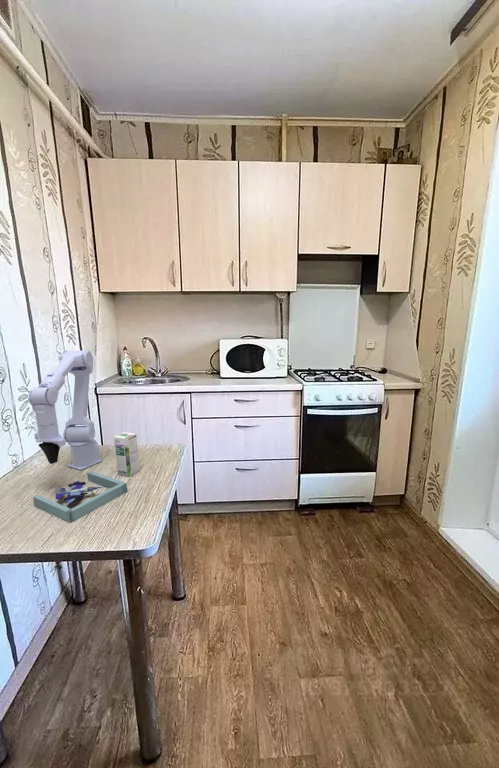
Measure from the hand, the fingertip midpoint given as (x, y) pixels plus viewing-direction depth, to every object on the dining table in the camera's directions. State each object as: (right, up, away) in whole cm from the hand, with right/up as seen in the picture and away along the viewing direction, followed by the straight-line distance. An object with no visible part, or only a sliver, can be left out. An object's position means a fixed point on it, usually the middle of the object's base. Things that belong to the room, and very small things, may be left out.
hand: (53, 462), depth 120 cm
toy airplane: (+11, -11, -5) cm, 16 cm away
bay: (+11, -10, -5) cm, 16 cm away
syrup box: (+21, -6, +12) cm, 25 cm away
